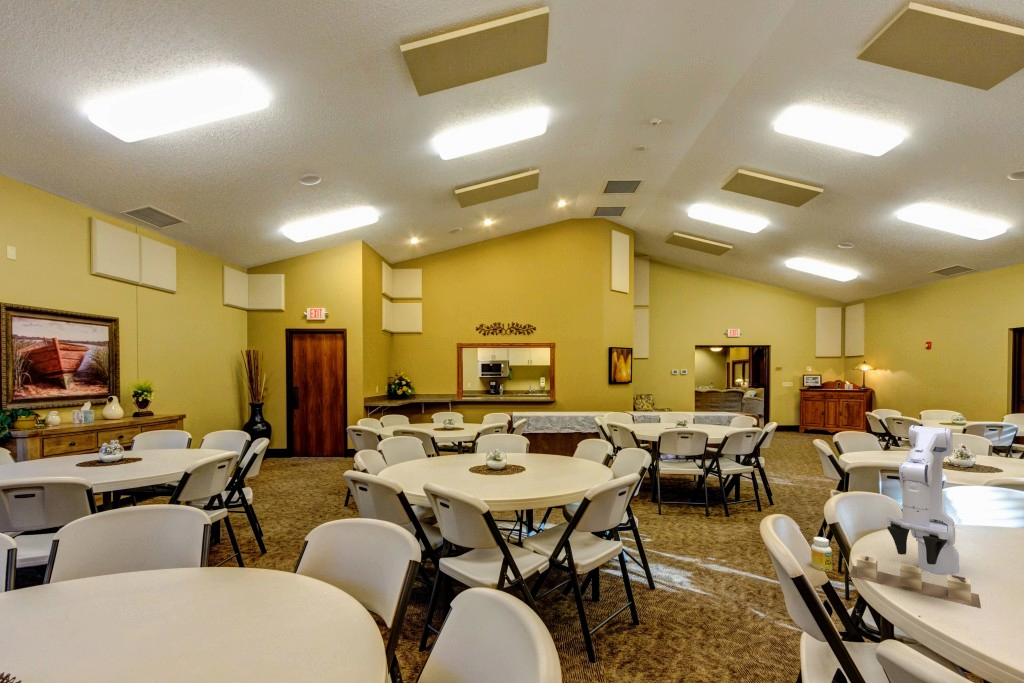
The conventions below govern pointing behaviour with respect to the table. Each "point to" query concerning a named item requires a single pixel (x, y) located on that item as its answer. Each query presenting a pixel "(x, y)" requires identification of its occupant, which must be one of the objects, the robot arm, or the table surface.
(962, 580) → the block seven
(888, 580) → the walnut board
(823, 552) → the supplement bottle
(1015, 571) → the table surface
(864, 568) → the block one
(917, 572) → the plain block
